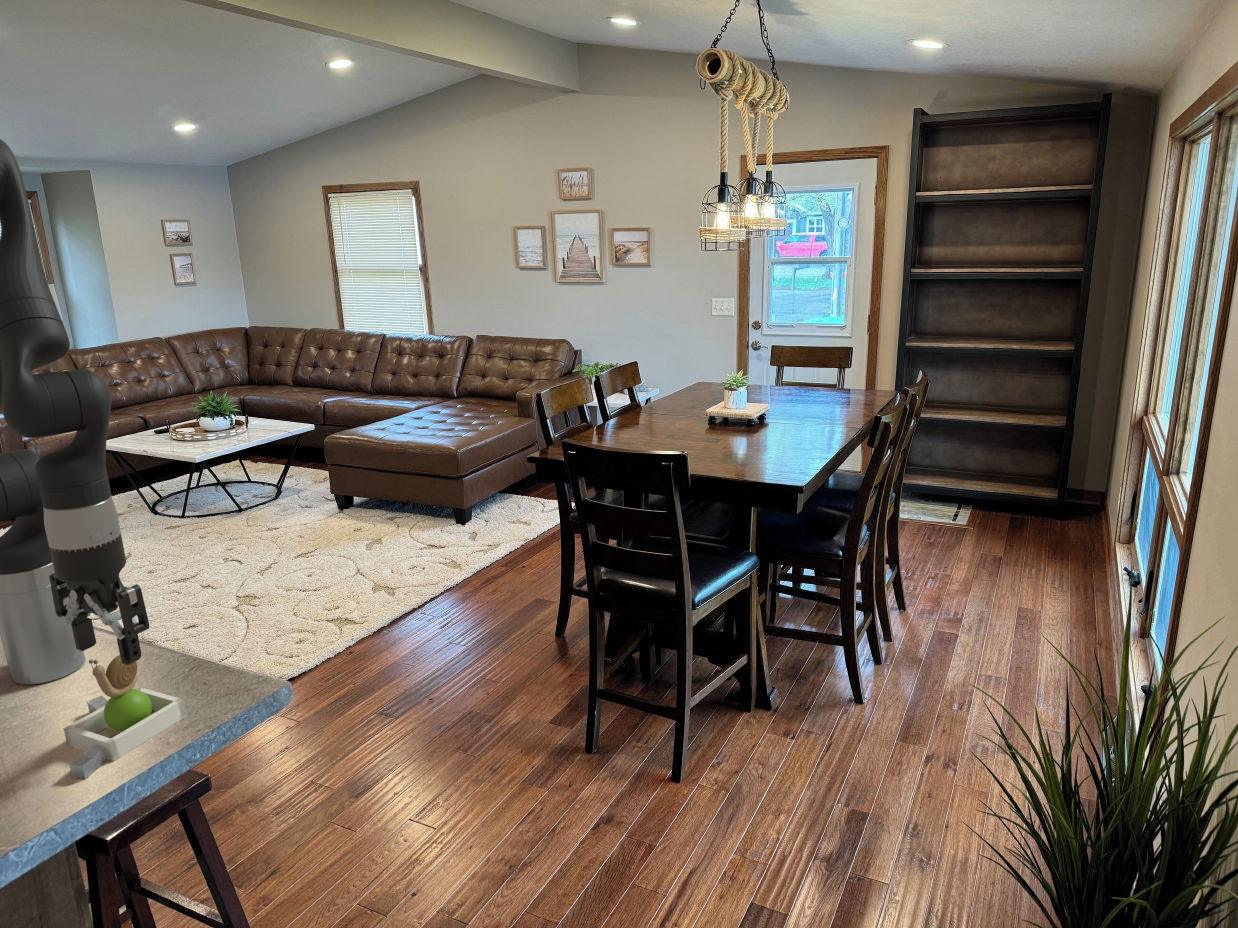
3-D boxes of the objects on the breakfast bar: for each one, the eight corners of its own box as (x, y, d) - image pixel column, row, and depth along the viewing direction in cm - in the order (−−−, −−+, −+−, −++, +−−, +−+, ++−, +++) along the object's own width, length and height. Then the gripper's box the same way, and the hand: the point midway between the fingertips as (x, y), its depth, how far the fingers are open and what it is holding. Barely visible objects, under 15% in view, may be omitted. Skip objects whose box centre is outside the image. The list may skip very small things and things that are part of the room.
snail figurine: (92, 743, 108) (72, 659, 105) (129, 715, 114) (111, 634, 111) (129, 747, 107) (110, 662, 104) (164, 718, 113) (148, 637, 110)
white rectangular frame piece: (12, 755, 106) (7, 738, 105) (120, 696, 119) (117, 680, 118) (81, 781, 101) (77, 762, 100) (187, 716, 114) (184, 699, 113)
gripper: (153, 533, 103) (174, 652, 108) (76, 517, 109) (99, 630, 114) (94, 556, 97) (119, 681, 102) (16, 537, 102) (43, 656, 107)
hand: (109, 654), depth 108 cm, fingers open, 8 cm apart
